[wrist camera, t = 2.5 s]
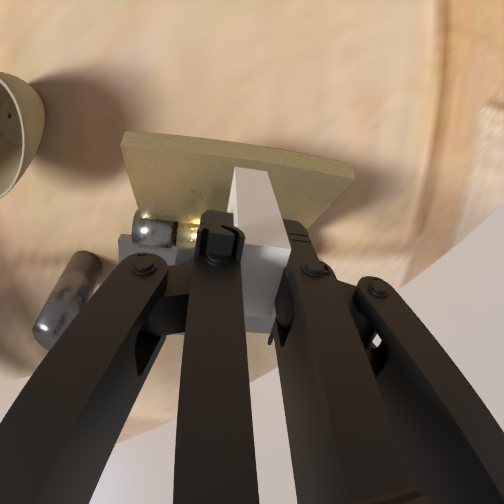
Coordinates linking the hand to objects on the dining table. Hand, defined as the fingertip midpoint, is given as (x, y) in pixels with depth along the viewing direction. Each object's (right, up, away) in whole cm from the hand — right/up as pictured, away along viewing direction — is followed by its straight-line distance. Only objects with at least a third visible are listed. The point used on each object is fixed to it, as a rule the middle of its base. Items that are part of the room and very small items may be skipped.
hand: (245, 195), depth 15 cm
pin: (-16, -4, +15) cm, 22 cm away
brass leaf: (-1, +2, +8) cm, 8 cm away
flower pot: (-20, +9, +6) cm, 22 cm away
